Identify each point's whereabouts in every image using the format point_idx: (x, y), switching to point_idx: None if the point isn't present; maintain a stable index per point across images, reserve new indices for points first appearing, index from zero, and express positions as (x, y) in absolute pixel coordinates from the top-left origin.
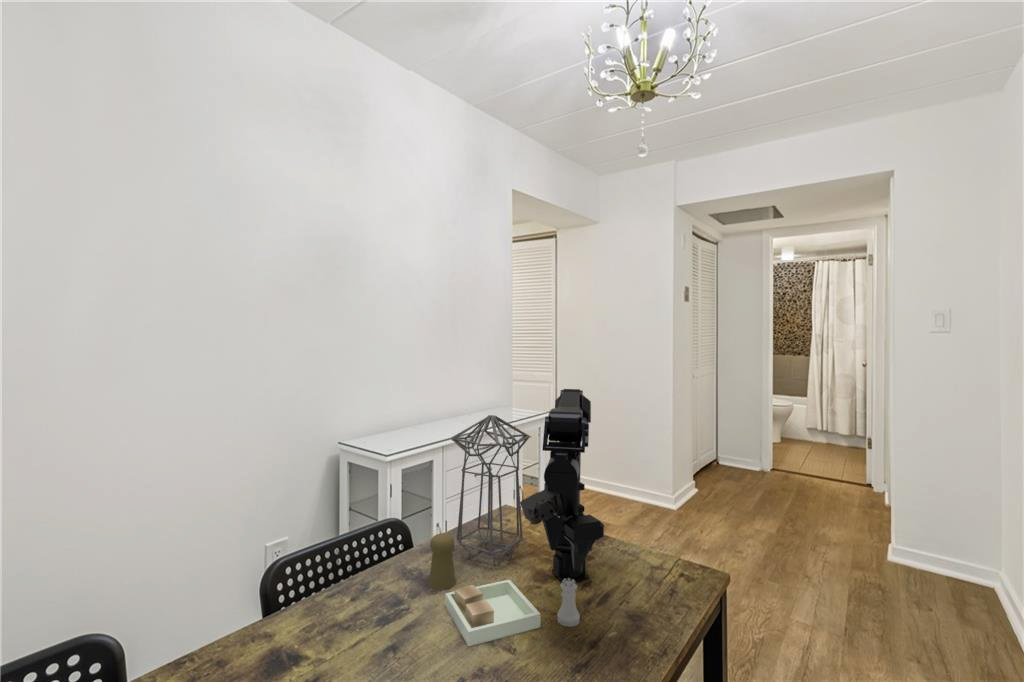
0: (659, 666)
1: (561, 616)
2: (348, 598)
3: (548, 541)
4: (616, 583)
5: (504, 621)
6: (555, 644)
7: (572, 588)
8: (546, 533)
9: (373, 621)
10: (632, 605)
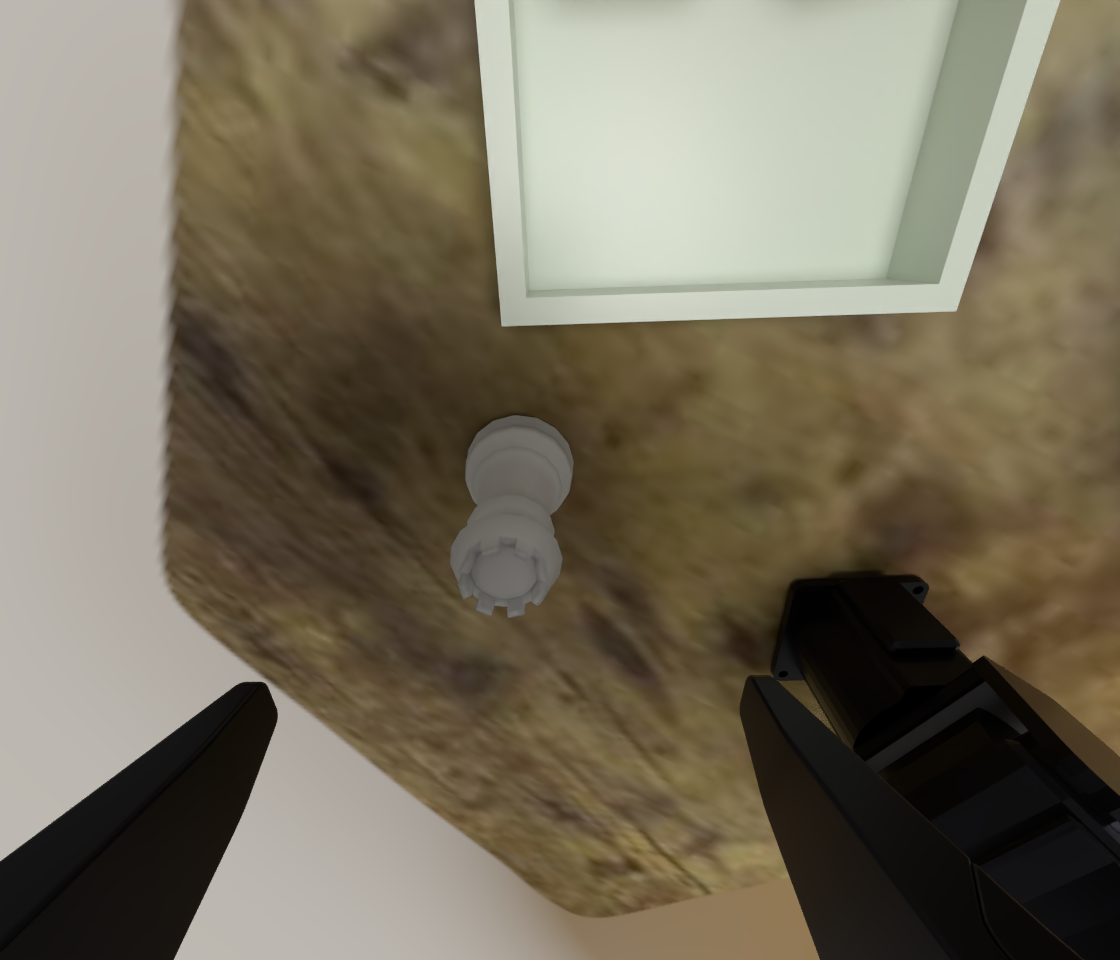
0: (196, 608)
1: (502, 439)
2: None
3: (826, 740)
4: (688, 724)
5: (491, 17)
6: (385, 332)
7: (456, 567)
8: (927, 843)
9: None
10: (541, 701)
